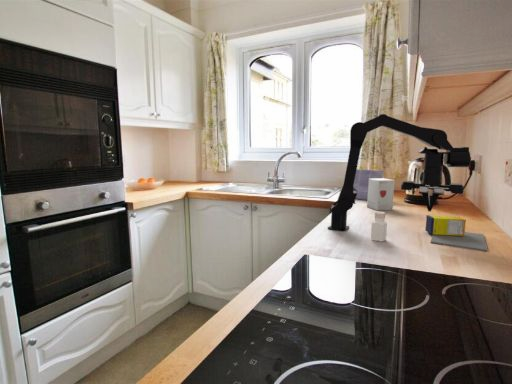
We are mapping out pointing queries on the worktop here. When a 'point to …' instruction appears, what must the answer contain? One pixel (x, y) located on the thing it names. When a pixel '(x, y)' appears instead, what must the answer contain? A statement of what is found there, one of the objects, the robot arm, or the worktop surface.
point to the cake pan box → (364, 182)
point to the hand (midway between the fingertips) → (429, 211)
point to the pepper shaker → (379, 227)
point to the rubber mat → (462, 241)
